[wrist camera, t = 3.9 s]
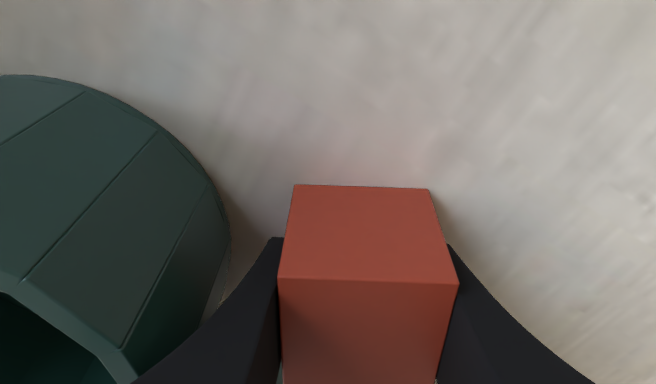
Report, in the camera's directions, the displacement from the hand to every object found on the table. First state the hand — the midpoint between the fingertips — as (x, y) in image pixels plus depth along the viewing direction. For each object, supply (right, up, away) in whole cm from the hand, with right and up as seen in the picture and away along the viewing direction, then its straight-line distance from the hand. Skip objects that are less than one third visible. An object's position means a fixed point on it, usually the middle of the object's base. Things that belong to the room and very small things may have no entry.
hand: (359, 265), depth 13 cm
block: (0, +1, +1) cm, 2 cm away
